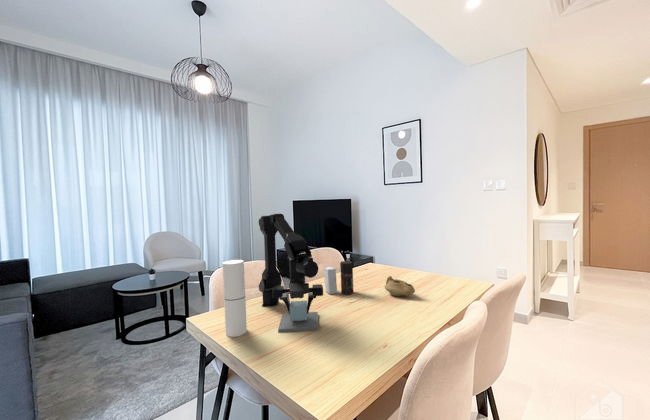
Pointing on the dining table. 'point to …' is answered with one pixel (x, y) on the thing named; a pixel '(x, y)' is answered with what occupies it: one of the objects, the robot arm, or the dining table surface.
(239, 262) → the cylindrical container
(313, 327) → the post stand
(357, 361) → the dining table surface
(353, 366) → the dining table surface
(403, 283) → the brown lumpy piece
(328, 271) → the skincare box
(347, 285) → the deodorant
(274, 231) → the robot arm
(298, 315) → the pale blue cube
